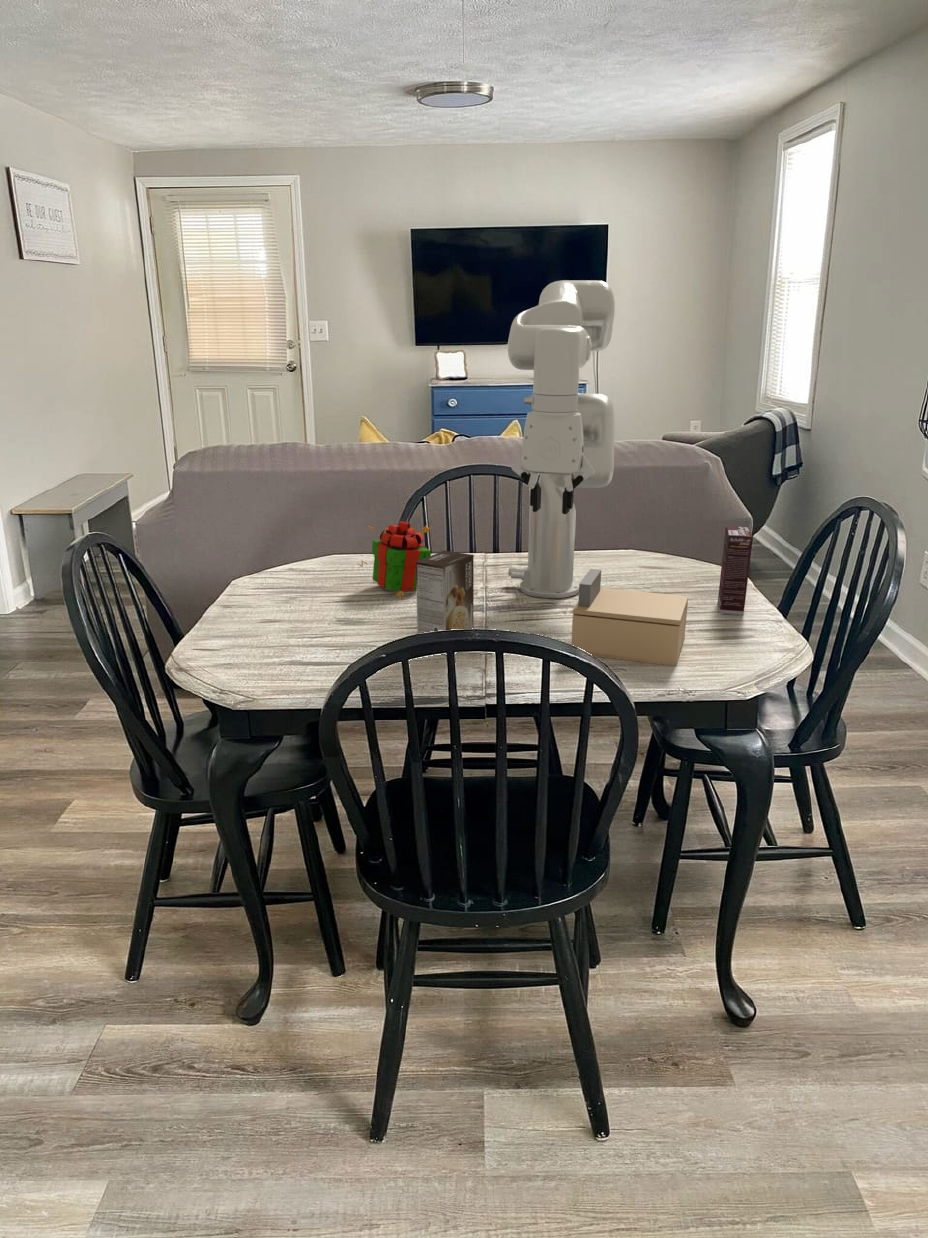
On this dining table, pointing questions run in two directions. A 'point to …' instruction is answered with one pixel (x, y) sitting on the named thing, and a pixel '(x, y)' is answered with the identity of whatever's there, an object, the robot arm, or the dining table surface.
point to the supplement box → (734, 570)
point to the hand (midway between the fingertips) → (551, 510)
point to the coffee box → (445, 592)
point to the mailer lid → (627, 602)
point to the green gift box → (398, 557)
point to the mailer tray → (629, 638)
